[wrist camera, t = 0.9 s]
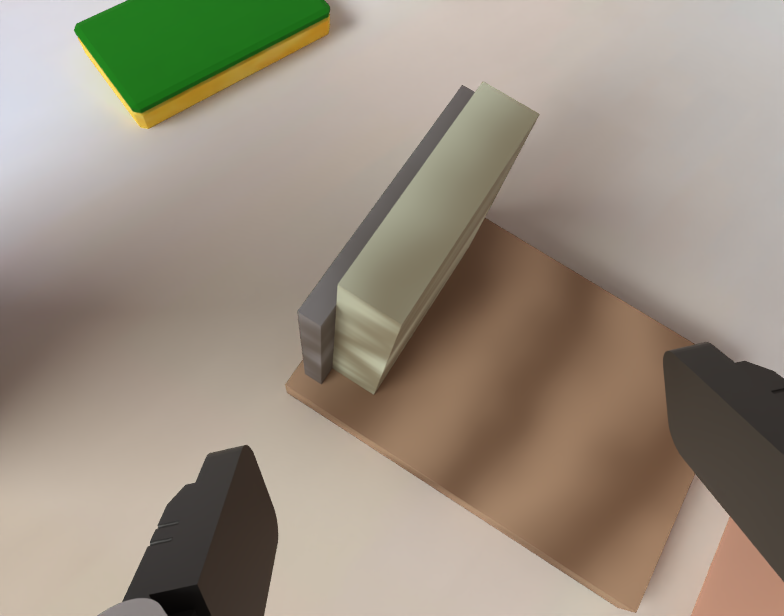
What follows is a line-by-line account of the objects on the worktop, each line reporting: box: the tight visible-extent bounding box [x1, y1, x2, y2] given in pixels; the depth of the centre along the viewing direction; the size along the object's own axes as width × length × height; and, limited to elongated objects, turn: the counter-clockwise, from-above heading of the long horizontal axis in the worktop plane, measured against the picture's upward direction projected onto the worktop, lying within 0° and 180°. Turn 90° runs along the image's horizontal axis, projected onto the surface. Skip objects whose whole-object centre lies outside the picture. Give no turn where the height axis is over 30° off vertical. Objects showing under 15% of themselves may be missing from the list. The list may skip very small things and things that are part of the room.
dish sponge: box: [74, 0, 330, 129], centre depth 39 cm, size 7×14×2 cm, turn 127°
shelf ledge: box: [285, 82, 695, 613], centre depth 28 cm, size 20×14×14 cm
